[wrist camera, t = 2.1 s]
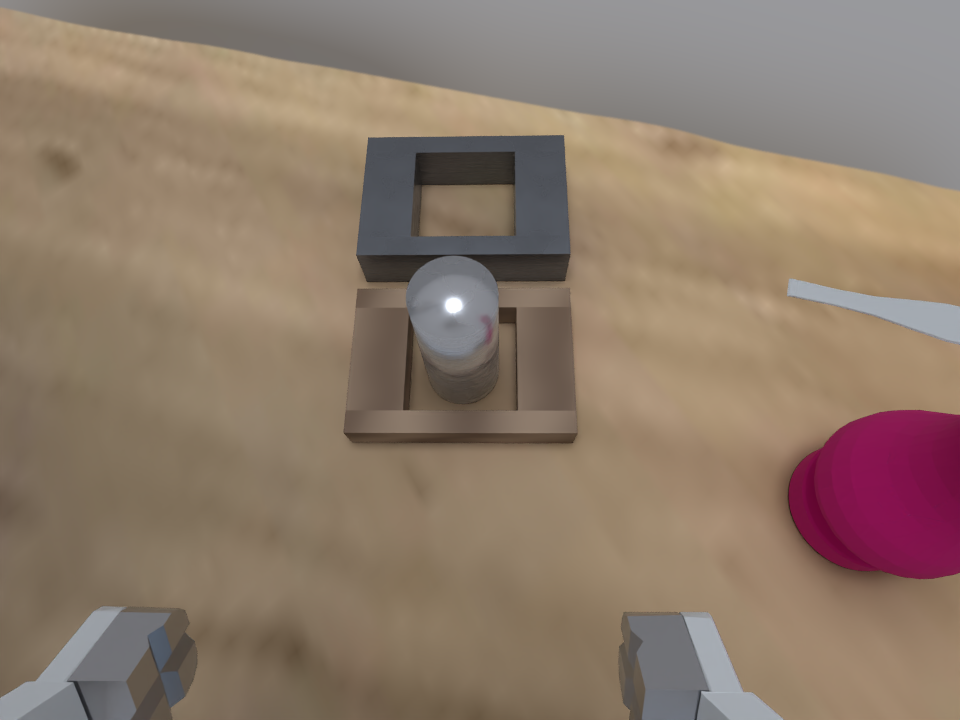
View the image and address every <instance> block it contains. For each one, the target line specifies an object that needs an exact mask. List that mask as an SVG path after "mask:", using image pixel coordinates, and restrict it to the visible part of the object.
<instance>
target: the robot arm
mask: <svg viewBox="0 0 960 720" xmlns="http://www.w3.org/2000/svg"><path fill="white" fill-rule="evenodd" d="M189 624H190V623H189V620H188V617H187V614H186V611H185V610H183V609H179V608H155V607H114V606H102V607H100V608H98V609H97V610H95V611H93V612H92V614H91V615H90V616H89V617H88V618H87V620H86V621H85V622H84V623H83V624H82V626H81V627H80V628H79V629H78V630H77V632H76V633H75V634H74V635H73V637H72V638H71V639H70V640H69V641H68V643H67V644H66V645H65V646H64V647H63V649H62V650H61V651H60V652H59V653H58V655H57V656H56V657H55V658H54V660H53V661H52V662H51V663H50V664H49V666H48V667H47V668H46V669H45V670H44V672H43V673H42V674H41V675H40V677H39V678H38V679H37V680H36V681H34V682H25V683H24V684H22V685H21V686H19V687H17V688H16V689H14V690H12V691H11V692H9V693H8V694H6V695H4V696H3V697H1V698H0V720H173V719H172V713H171V707H172V706H174V705H175V704H176V703H177V702H179V701H180V700H181V699H183V698H184V697H185V696H186V694H187V692H188V690H189V688H190V686H191V684H192V682H193V680H194V676H195V672H196V668H197V648H196V644H195V641H194V640H193V639H191V638H190V637H189V636H188V635H187V634H186V633H185V630H186V629H187V627H188V625H189ZM621 631H622V635H623V640H624V642H623V643H622V644H621V645H620V646H619V659H618V663H619V680H620V688H621V693H622V699H623V703H624V704H625V706H626V707H627V708H628V709H629V710H630V716H629V720H784V719H783V718H782V717H781V716H779V715H778V714H777V713H776V712H775V711H774V710H772V709H771V708H770V707H769V706H768V705H767V704H765V703H764V702H763V701H762V700H761V699H760V698H758V697H757V696H756V695H755V694H754V693H751V692H744V691H743V689H742V687H741V684H740V682H739V680H738V677H737V675H736V672H735V670H734V668H733V665H732V663H731V661H730V658H729V656H728V653H727V651H726V649H725V646H724V644H723V642H722V639H721V637H720V635H719V632H718V630H717V627H716V625H715V623H714V620H713V618H712V616H711V615H710V614H709V613H708V612H679V613H678V612H624V613H623V616H622V623H621Z"/></svg>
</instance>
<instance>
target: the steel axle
mask: <svg viewBox="0 0 960 720" xmlns="http://www.w3.org/2000/svg"><path fill="white" fill-rule="evenodd" d="M406 306H407V309H408V313H409V316H410V319H411V322H412V325H413V328H414V332H415V335H416V338H417V341H418V344H419V348H420V351H421V354H422V357H423V360H424V363H425V367H426V370H427V373H428V376H429V379H430V383H431V385H432V387H433V389H434V390H435V391H436V392H437V394H438V395H440V396H441V397H442V398H444V399H445V400H447V401H449V402H452V403H457V404H469V403H473V402H477V401H479V400H481V399H482V398H484V397H485V396H487V395H488V394H489V393H490V392H491V391H492V389H493V388H494V386H495V384H496V382H497V379H498V373H499V294H498V287H497V284H496V281H495V279H494V277H493V275H492V274H491V273H490V271H489V270H488V269H487V268H486V267H485V266H483V265H482V264H481V263H479V262H477V261H475V260H473V259H470V258H467V257H462V256H445V257H440V258H437V259H434V260H432V261H430V262H428V263H426V264H425V265H423V266H422V267H421V268H420V269H419V270H418V271H417V272H416V273H415V274H414V275H413V277H412V278H411V280H410V282H409V284H408V287H407V291H406Z"/></svg>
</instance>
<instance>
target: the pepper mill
mask: <svg viewBox="0 0 960 720" xmlns="http://www.w3.org/2000/svg"><path fill="white" fill-rule="evenodd" d="M789 505H790V510H791V513H792V516H793V519H794V521H795V523H796V526H797V528H798V529H799V531H800V533H801V534H802V536H803V537H804V538H805V540H806V541H807V542H808V543H809V544H810V545H811V546H812V547H813V548H814V549H815V550H816V551H817V552H818V553H819V554H821V555H822V556H823V557H825V558H826V559H828V560H829V561H831V562H833V563H835V564H837V565H840V566H842V567H845V568H848V569H852V570H858V571H876V570H882V571H884V572H887V573H890V574H894V575H897V576H901V577H907V578H915V579H933V578H938V577H944V576H949V575H954V574H957V573H960V415H954V414H946V413H938V412H930V411H923V410H898V411H887V412H880V413H876V414H873V415H870V416H867V417H863V418H860V419H858V420H855V421H852V422H850V423H848V424H846V425H845V426H843V427H842V428H840V429H839V430H838V431H837V432H835V433H834V434H833V435H832V436H831V437H830V438H829V440H828V441H827V442H826V443H825V445H824V447H823V448H821V449H819V450H816V451H814V452H813V453H811V454H809V455H808V456H806V457H805V458H804V459H803V460H802V461H801V462H800V463H799V465H798V466H797V468H796V469H795V471H794V473H793V475H792V478H791V481H790V486H789Z"/></svg>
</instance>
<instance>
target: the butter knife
mask: <svg viewBox="0 0 960 720" xmlns="http://www.w3.org/2000/svg"><path fill="white" fill-rule="evenodd" d="M787 296H791V297H796V298H800V299H805V300H809V301H814V302H819V303H823V304H828V305H833V306H837V307H841V308H845V309H848V310H852V311H856V312H860V313H864V314H868V315H872V316H875V317H878V318H880V319H883V320H886V321H889V322H892V323H894V324H897V325H900V326H903V327H905V328H908V329H911V330H914V331H917V332H920V333H923V334H926V335H929V336H932V337H934V338H937V339H940V340H943V341H946V342H950V343H954V344H959V345H960V307H958V306H954V305H950V304H944V303H935V302H927V301H917V300H906V299H896V298H886V297H875V296H870V295H864V294H859V293H854V292H849V291H843V290H838V289H833V288H829V287H825V286H821V285H817V284H812V283H808V282H804V281H800V280H795V279H789V284H788V293H787Z"/></svg>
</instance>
